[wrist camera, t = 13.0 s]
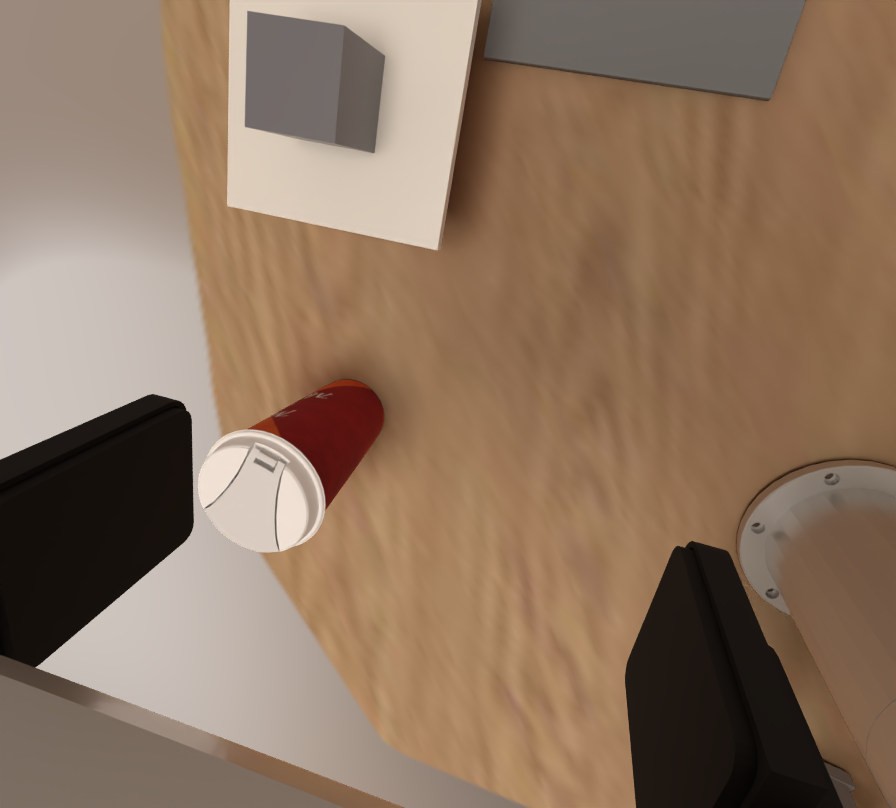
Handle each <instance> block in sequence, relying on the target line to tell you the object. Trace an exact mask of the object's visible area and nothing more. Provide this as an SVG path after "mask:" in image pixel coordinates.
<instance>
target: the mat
mask: <svg viewBox="0 0 896 808" xmlns="http://www.w3.org/2000/svg"><path fill="white" fill-rule="evenodd" d="M805 1H806V0H493V3H492V9H491V15H490V21H489V27H488V33H487V39H486V45H485V51H484V58H485V60H492V61H499V62H505V63H512V64H519V65H526V66H533V67H540V68H546V69H553V70H560V71H567V72H574V73H581V74H588V75H594V76H601V77H608V78H615V79H622V80H629V81H635V82H642V83H649V84H656V85H663V86H670V87H676V88H683V89H690V90H697V91H704V92H711V93H718V94H724V95H731V96H738V97H745V98H752V99H759V100H765V101H768V100H770V99H771V97H772V94H773V92H774V89H775V86H776V83H777V80H778V77H779V75H780V72H781V69H782V66H783V63H784V61H785V58H786V55H787V52H788V49H789V46H790V44H791V41H792V38H793V35H794V32H795V30H796V27H797V24H798V21H799V18H800V15H801V13H802V10H803V7H804V4H805Z"/></svg>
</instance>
